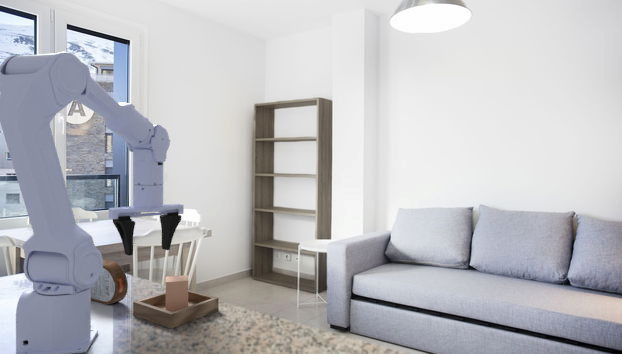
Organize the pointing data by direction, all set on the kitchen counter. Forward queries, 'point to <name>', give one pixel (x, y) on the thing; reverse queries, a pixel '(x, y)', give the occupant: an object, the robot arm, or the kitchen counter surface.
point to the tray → (157, 312)
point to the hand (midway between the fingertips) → (147, 251)
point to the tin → (110, 284)
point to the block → (176, 292)
